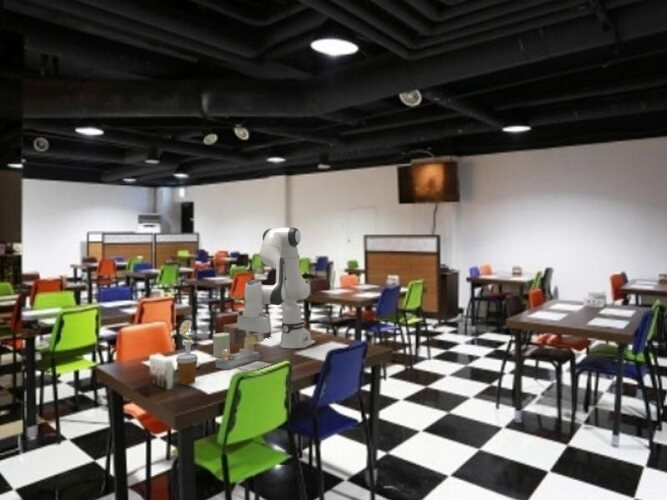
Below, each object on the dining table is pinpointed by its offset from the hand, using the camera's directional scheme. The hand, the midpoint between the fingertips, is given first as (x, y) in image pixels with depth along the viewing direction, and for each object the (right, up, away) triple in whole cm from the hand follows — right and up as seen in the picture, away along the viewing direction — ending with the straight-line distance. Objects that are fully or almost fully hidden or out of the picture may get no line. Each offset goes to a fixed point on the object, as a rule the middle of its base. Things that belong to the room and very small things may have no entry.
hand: (254, 340), depth 232 cm
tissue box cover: (-15, -12, +63) cm, 66 cm away
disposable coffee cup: (-26, -15, -22) cm, 38 cm away
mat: (0, -14, +1) cm, 14 cm away
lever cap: (0, -1, 0) cm, 1 cm away
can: (-22, -13, +24) cm, 36 cm away
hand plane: (-10, -14, +7) cm, 18 cm away
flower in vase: (-32, -14, -1) cm, 35 cm away
